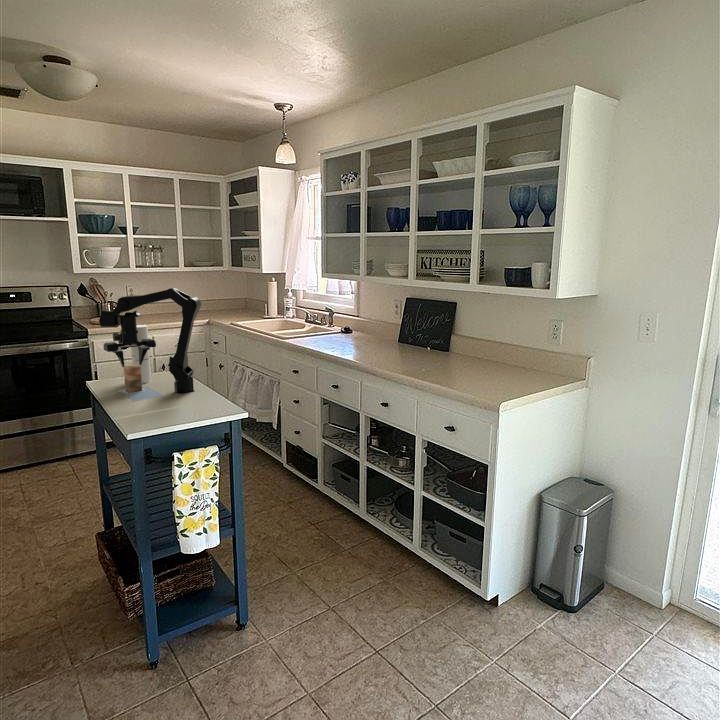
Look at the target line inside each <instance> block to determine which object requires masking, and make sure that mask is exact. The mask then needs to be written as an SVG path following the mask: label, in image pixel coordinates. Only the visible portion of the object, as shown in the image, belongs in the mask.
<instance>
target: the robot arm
mask: <svg viewBox="0 0 720 720" xmlns="http://www.w3.org/2000/svg"><path fill="white" fill-rule="evenodd" d="M165 300H172V301H173V302H174V303H176V304H177V305H179V306H180V307H181V315H182V323H181V328H180V332H179V336H178V337H179V338H178V341H177V345H176V350H175V353H174V354H171V355H170V356H169V362H168V364H167V367H168V372H170V374H171V375H172V376H173V378H174V383H173V385H174V392H175V393H176V394H180V395H183V394H189V393H195V392H196V390H194V377H193V375H194V372H195V371H194V369H192V368H191V367H190V366H189V357H188V351H189V346H190V341H191V337H192V331H193V327H194V322H195V320H196V317H198V314H199V312H200V309H201V307H202V302H201V300H200V299H199V298H198V297H196V296H190V295H189V294H187V293H184V292H183V291H180V290H179V289H178V288H177V287H171V288H168V289H165V290H160V291H156V292H151V293H148V294H143V295H141V294H140V295H139V294H138V295H135V294H134V295H127V296H126V295H125V296H121V297H119V298H118V299H117V301H116V304H117V305H116V306H115V307H114V309H113V310H105V309H104V310H103V309H102V310H101V311H100V316H99V319H98V322H99V326H100V327H101V328H103V329H104V328H107V329H108V328H110V329H112V328H113V329H114V328H115V329H116V328H119V326H120V330H119V331H120V332H113V333H112V339H113V341H111V342H104V343H103V351H105V352H107V353H110V352H111V353H114V354H115V355H116V357H117V358H118V361H119V363H120V365H121V367H122V368H124V367H125V358H124V351H123V350H122V349H126V348H131V347H137V346H140V347H138V350H139V365H141V364H142V361H143V359H144V356H145V354H146V352H147V350H149V351H150V349H151V348H156V347H157V342H156V340H155V339H152V338H148V339H142V341H141V342H139V341H138V339H137V333H138V331H137V325H138V324H137V318H138V317H141V316H142V314H141V313H140V312H139V311H138V310H137V309H138V308H140V307H142V306H144V305H148V304H152V303H157V302H161V301H165ZM135 309H136V310H135ZM133 310H134V311H133ZM129 311H130V312H129ZM131 311H133V312H131ZM123 313H124V314H123ZM117 342H118V343H117ZM148 347H149V348H148Z"/></svg>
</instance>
